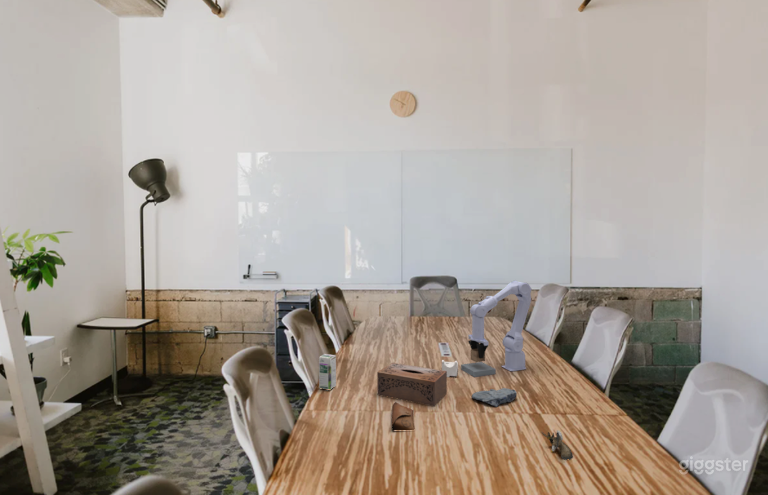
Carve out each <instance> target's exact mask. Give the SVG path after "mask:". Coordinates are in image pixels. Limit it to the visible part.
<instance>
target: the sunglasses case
mask: <svg viewBox="0 0 768 495" xmlns="http://www.w3.org/2000/svg"><path fill="white" fill-rule="evenodd" d="M391 407H392V408H391V430H392V431H393V430H414V429H415V430H416V428H415V423H414V409H413V408H409V407H408V406H405V405H402V404H400V403H399V402H397V401H395V402H394V403H393V404H392V406H391Z"/></svg>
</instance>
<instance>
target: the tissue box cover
mask: <svg viewBox="0 0 768 495" xmlns="http://www.w3.org/2000/svg"><path fill="white" fill-rule="evenodd" d="M376 376H377V382H376V383H377V387H376V388H377V395H378V394H379V395H378V396H381V395H383V396H382V397H386V396H388V397H387V398H391V397H393V399H396V398H398V399H397V400H401V399H402V400H403V401H406V400H407V401H406V402H411V401H412V403H416V402H417V403H416V404H422V405H425V406H426V405H427V406H432V407H436V406H437V404H438V403H439V402H441V400H442V399H443V398H444V397H446V395H447V393H448V392H447V391H448V388H447V386H448V379H447V378H448V377H447V371H443V370H442V369H441V370H440V369H436V368H429V367H421V366H415V365H410V364H405V363H404V364H403V363H398V362H391V363H390V364H388V365H386V366H384V367H383V368H382V369H380V370H378V371H377V375H376Z"/></svg>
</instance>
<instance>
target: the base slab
mask: <svg viewBox="0 0 768 495" xmlns="http://www.w3.org/2000/svg"><path fill="white" fill-rule="evenodd" d="M460 370H461V371H463V372H465V373H466V374H468V375H470V376H471V377H473V378H478V377H485V376H492V375H496V371H497V369H496V368H494V367H492V366H491V365H489V364H487V363H485V362H484V361H482V362H470V363H469V362H468V363H463V364H460Z"/></svg>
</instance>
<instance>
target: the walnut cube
mask: <svg viewBox="0 0 768 495" xmlns="http://www.w3.org/2000/svg"><path fill="white" fill-rule="evenodd" d="M470 360H471V361H473V362H474V363H476V362H485V361H486V353H485V354H484V358H479V354H478V349H470Z"/></svg>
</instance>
